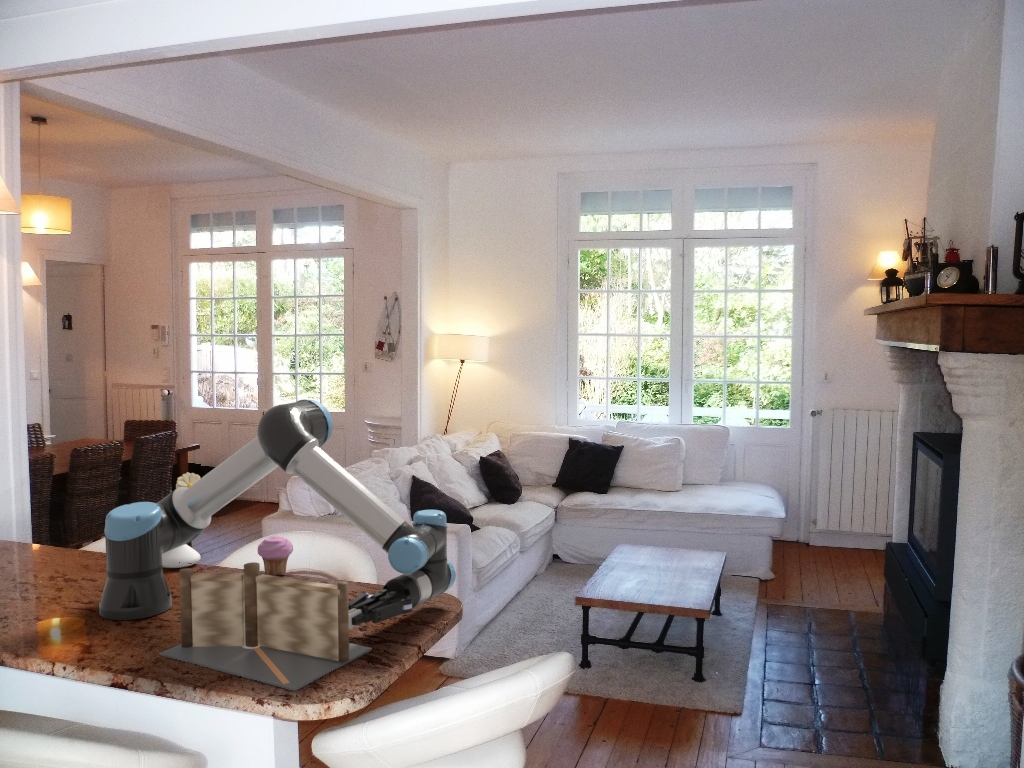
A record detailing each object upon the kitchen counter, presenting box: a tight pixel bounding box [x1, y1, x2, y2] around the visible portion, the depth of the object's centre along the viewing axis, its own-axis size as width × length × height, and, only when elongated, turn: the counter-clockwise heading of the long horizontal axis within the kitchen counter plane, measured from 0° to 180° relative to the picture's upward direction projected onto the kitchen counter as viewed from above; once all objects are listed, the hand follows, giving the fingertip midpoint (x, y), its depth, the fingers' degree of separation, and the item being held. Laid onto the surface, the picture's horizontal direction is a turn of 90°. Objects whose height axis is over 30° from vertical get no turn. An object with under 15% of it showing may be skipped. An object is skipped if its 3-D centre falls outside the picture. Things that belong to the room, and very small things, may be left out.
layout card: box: [158, 642, 373, 692], centre depth 171 cm, size 35×22×1 cm, turn 62°
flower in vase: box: [162, 471, 201, 569], centre depth 231 cm, size 13×11×25 cm
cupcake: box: [257, 535, 294, 576], centre depth 224 cm, size 9×9×10 cm
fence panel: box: [256, 573, 350, 662], centre depth 168 cm, size 21×2×15 cm, turn 66°
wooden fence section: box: [179, 561, 261, 648], centre depth 173 cm, size 16×3×16 cm, turn 92°
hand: (336, 625), depth 167 cm, fingers closed
